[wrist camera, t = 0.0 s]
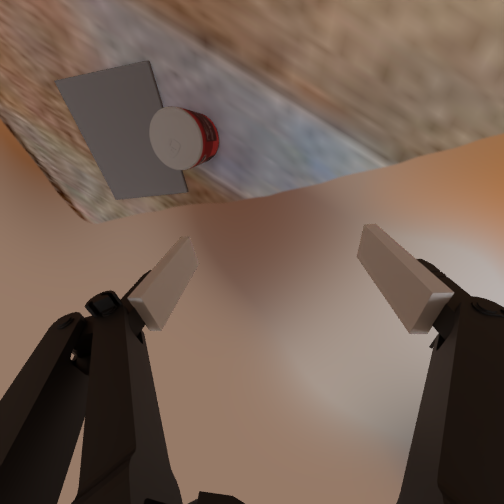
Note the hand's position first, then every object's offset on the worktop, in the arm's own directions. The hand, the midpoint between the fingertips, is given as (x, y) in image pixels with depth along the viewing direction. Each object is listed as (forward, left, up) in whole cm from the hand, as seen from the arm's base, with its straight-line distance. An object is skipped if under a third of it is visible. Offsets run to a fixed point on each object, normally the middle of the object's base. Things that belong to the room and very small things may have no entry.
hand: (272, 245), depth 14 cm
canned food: (-8, -13, -28) cm, 32 cm away
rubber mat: (-9, -28, -28) cm, 41 cm away
